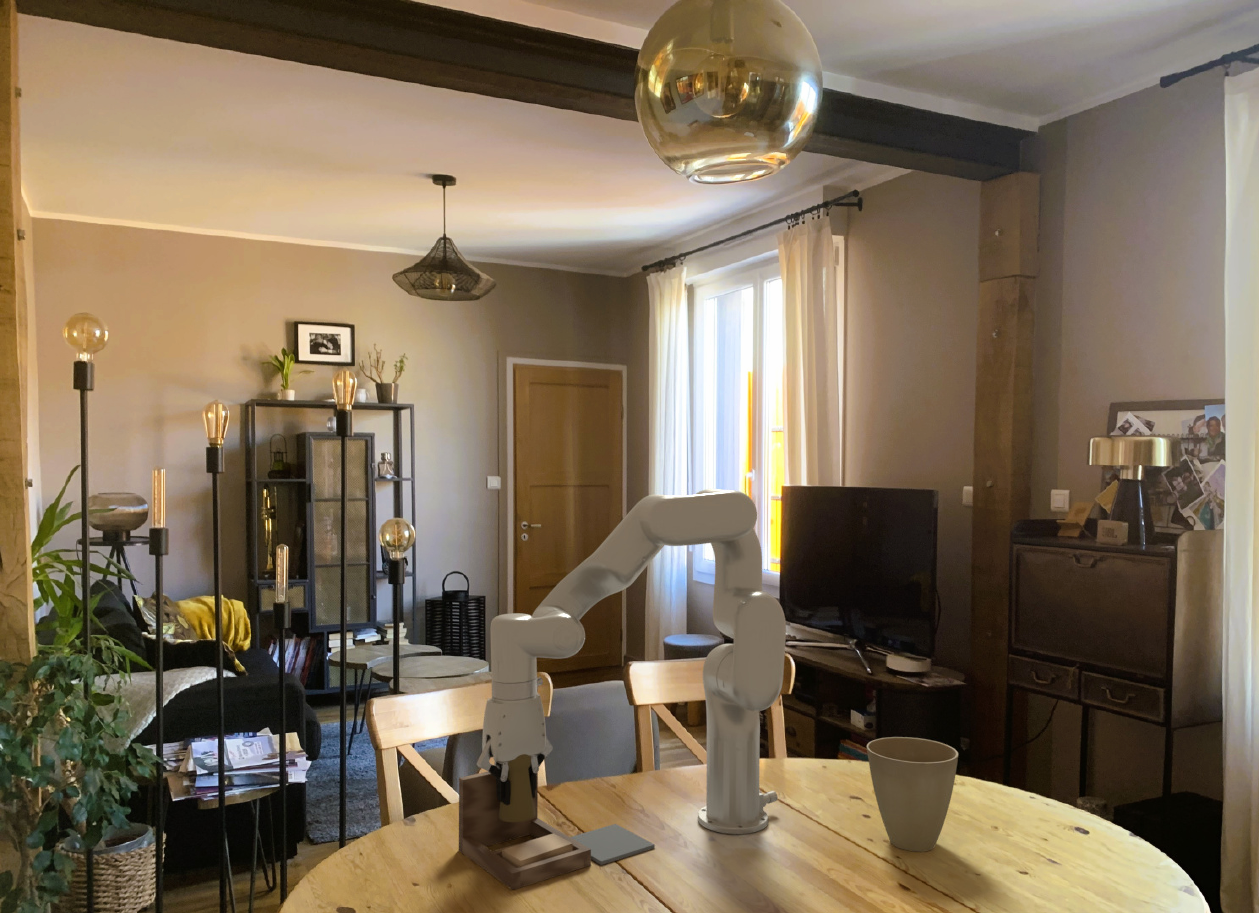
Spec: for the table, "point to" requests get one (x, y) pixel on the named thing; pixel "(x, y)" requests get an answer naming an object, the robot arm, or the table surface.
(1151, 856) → the table surface
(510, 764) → the olive pawn
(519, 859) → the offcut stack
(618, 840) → the slate mat
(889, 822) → the plant pot
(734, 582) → the robot arm
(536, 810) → the open walnut box
